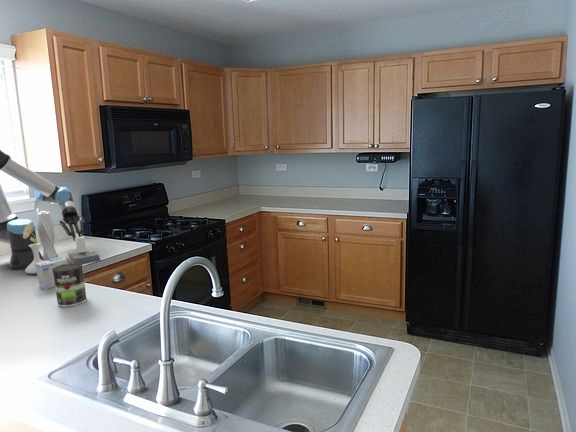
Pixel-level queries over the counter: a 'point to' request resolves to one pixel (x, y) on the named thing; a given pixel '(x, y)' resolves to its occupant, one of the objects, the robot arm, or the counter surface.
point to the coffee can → (69, 284)
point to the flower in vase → (35, 248)
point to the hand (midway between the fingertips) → (79, 244)
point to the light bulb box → (48, 272)
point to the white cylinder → (80, 244)
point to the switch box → (84, 257)
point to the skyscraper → (46, 235)
